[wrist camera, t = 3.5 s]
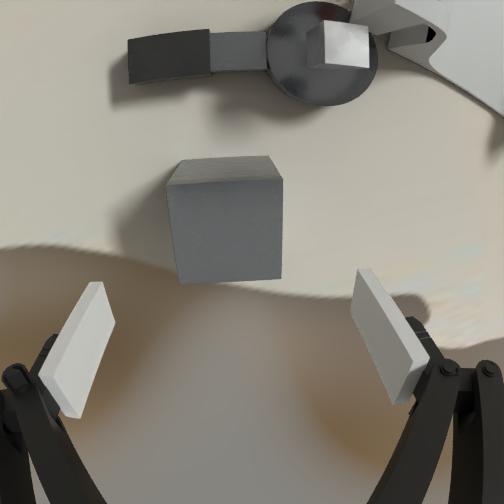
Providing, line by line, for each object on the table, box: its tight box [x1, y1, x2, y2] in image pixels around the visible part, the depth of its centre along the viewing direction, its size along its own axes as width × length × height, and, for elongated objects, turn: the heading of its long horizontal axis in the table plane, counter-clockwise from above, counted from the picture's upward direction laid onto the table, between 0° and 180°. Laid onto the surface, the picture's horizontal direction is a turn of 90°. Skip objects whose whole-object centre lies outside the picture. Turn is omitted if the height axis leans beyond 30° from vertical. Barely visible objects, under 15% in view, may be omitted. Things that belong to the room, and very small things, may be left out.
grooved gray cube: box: [166, 156, 283, 284], centre depth 26 cm, size 8×8×8 cm
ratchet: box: [128, 1, 378, 106], centre depth 20 cm, size 20×9×8 cm, turn 91°
